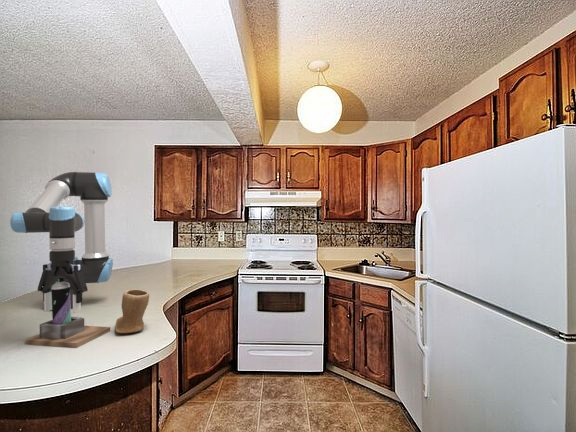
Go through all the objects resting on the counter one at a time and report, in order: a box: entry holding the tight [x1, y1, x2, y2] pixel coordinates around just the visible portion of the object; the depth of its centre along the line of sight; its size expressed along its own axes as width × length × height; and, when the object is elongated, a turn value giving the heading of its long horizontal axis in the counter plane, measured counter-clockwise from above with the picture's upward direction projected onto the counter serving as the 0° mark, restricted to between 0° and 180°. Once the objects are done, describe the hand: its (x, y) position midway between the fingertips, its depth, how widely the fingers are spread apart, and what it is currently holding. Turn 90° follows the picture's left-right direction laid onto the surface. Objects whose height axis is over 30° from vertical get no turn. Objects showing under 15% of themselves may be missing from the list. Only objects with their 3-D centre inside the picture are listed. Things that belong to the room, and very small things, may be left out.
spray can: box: [51, 278, 72, 325], centre depth 118 cm, size 6×6×20 cm
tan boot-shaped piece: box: [114, 288, 150, 334], centre depth 128 cm, size 15×12×15 cm
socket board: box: [24, 316, 111, 349], centre depth 119 cm, size 20×16×6 cm
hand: (62, 311), depth 118 cm, fingers open, 11 cm apart
